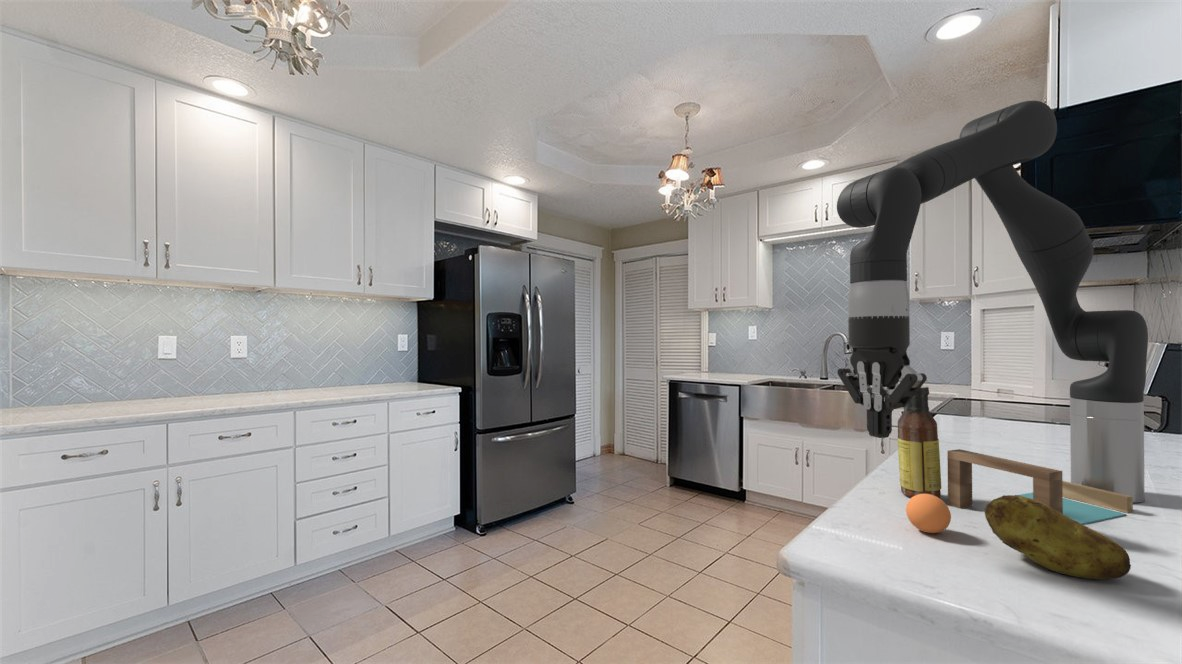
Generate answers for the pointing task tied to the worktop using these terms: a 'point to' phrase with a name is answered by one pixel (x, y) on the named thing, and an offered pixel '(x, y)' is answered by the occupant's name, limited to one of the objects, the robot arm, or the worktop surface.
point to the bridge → (1044, 479)
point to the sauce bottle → (919, 448)
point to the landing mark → (1083, 511)
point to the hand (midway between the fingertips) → (879, 436)
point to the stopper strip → (1098, 497)
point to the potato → (1055, 539)
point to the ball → (928, 513)
